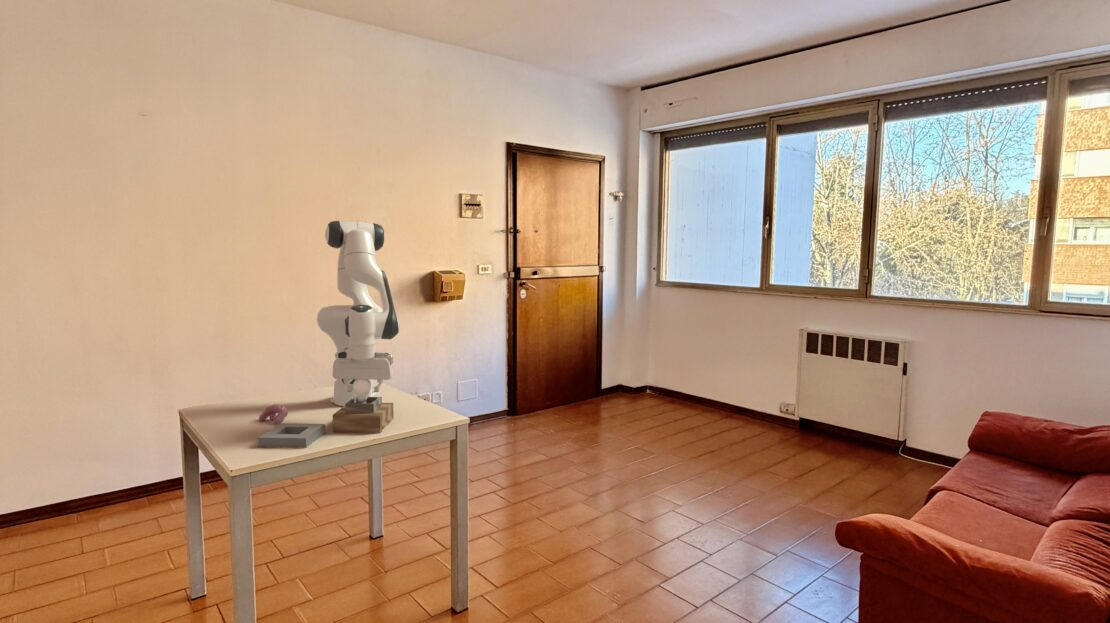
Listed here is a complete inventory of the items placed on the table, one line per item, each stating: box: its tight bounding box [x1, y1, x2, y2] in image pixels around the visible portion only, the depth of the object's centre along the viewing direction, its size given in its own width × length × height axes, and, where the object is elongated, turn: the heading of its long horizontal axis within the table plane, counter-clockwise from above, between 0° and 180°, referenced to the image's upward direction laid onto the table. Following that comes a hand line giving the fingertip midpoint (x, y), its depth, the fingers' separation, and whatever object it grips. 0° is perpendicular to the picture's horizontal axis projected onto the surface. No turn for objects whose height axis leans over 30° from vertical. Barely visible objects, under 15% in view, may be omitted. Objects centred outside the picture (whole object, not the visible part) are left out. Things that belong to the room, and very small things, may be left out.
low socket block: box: [257, 422, 326, 448], centre depth 194 cm, size 15×15×3 cm
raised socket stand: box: [332, 396, 395, 434], centre depth 209 cm, size 16×16×9 cm
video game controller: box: [258, 403, 289, 426], centre depth 213 cm, size 10×5×7 cm, turn 61°
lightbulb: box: [353, 379, 372, 403], centre depth 208 cm, size 6×6×11 cm
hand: (363, 391), depth 208 cm, fingers open, 8 cm apart
